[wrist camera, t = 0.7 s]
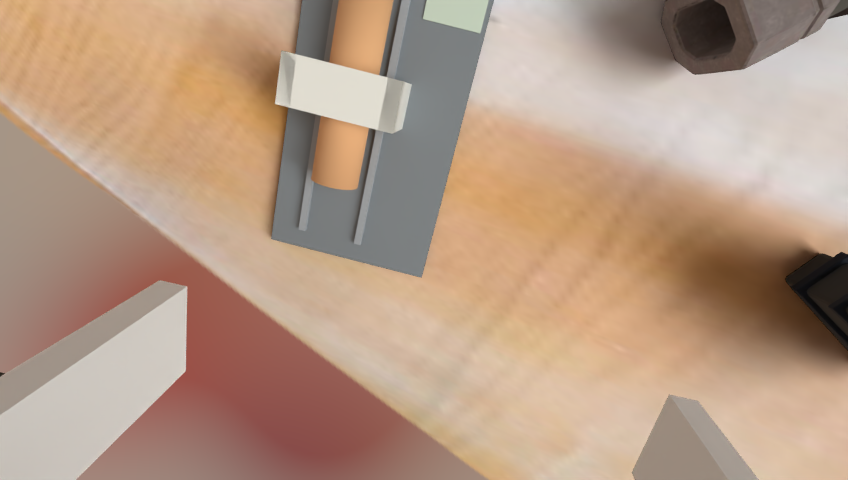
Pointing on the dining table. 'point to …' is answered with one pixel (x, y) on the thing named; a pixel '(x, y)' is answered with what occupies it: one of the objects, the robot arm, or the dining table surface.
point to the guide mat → (385, 138)
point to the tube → (740, 29)
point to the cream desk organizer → (342, 93)
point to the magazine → (825, 291)
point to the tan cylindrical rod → (362, 50)
